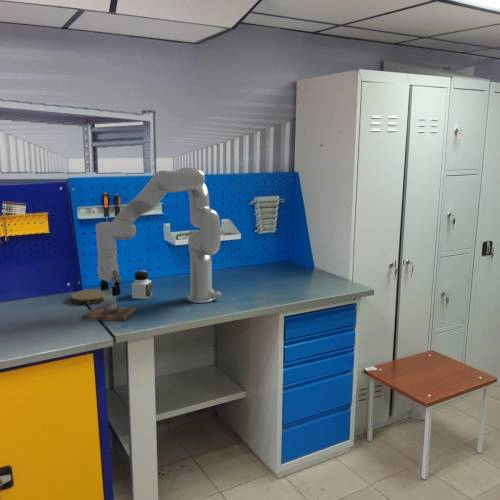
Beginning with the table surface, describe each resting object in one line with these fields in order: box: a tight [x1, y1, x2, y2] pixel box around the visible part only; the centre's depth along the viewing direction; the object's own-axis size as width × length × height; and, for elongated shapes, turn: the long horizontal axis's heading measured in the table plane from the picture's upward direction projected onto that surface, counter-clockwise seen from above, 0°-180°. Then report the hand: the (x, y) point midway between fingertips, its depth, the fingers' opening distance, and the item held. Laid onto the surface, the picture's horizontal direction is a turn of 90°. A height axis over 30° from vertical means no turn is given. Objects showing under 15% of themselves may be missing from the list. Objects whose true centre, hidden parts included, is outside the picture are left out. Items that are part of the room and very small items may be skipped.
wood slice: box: [70, 288, 104, 306], centre depth 233 cm, size 16×16×3 cm
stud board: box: [81, 300, 138, 322], centre depth 213 cm, size 18×14×5 cm
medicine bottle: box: [130, 270, 153, 300], centre depth 237 cm, size 7×7×12 cm
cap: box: [102, 288, 117, 304], centre depth 212 cm, size 5×5×5 cm
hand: (110, 293), depth 212 cm, fingers open, 9 cm apart
